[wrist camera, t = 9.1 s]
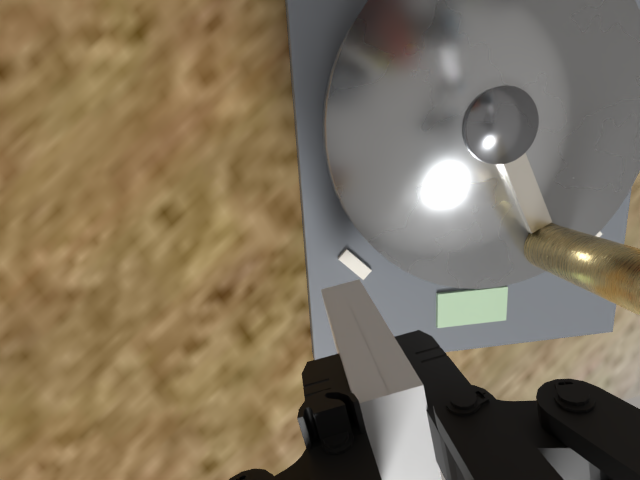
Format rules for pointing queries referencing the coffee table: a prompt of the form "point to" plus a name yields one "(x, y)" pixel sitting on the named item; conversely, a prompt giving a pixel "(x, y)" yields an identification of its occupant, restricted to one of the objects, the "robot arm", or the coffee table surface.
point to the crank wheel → (490, 138)
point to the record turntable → (380, 274)
